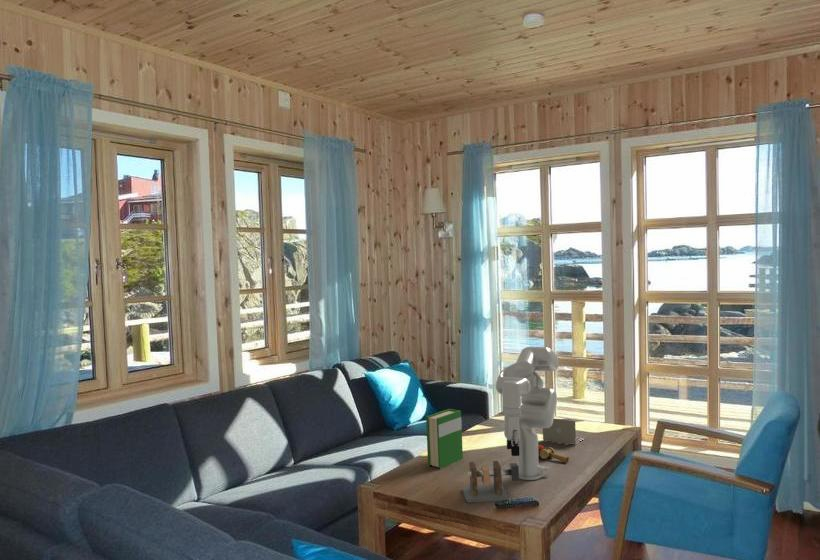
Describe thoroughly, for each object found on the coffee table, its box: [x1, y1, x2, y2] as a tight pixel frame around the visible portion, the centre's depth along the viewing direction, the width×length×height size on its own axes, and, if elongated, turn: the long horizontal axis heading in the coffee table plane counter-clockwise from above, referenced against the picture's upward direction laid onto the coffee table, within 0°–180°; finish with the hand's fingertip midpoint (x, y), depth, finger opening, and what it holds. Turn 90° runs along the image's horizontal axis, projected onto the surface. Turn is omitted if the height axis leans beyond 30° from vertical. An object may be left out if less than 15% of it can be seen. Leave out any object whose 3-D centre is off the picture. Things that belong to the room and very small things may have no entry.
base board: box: [461, 484, 509, 504], centre depth 259 cm, size 17×14×2 cm
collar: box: [480, 465, 491, 485], centre depth 259 cm, size 2×6×6 cm, turn 2°
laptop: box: [542, 418, 585, 446], centre depth 330 cm, size 18×12×13 cm
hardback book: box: [425, 408, 464, 469], centre depth 301 cm, size 18×7×24 cm, turn 138°
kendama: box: [538, 444, 570, 464], centre depth 301 cm, size 8×6×18 cm
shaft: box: [467, 462, 520, 482], centre depth 259 cm, size 20×4×6 cm, turn 92°
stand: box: [468, 460, 503, 496], centre depth 259 cm, size 12×8×11 cm, turn 92°
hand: (513, 452), depth 258 cm, fingers open, 9 cm apart
